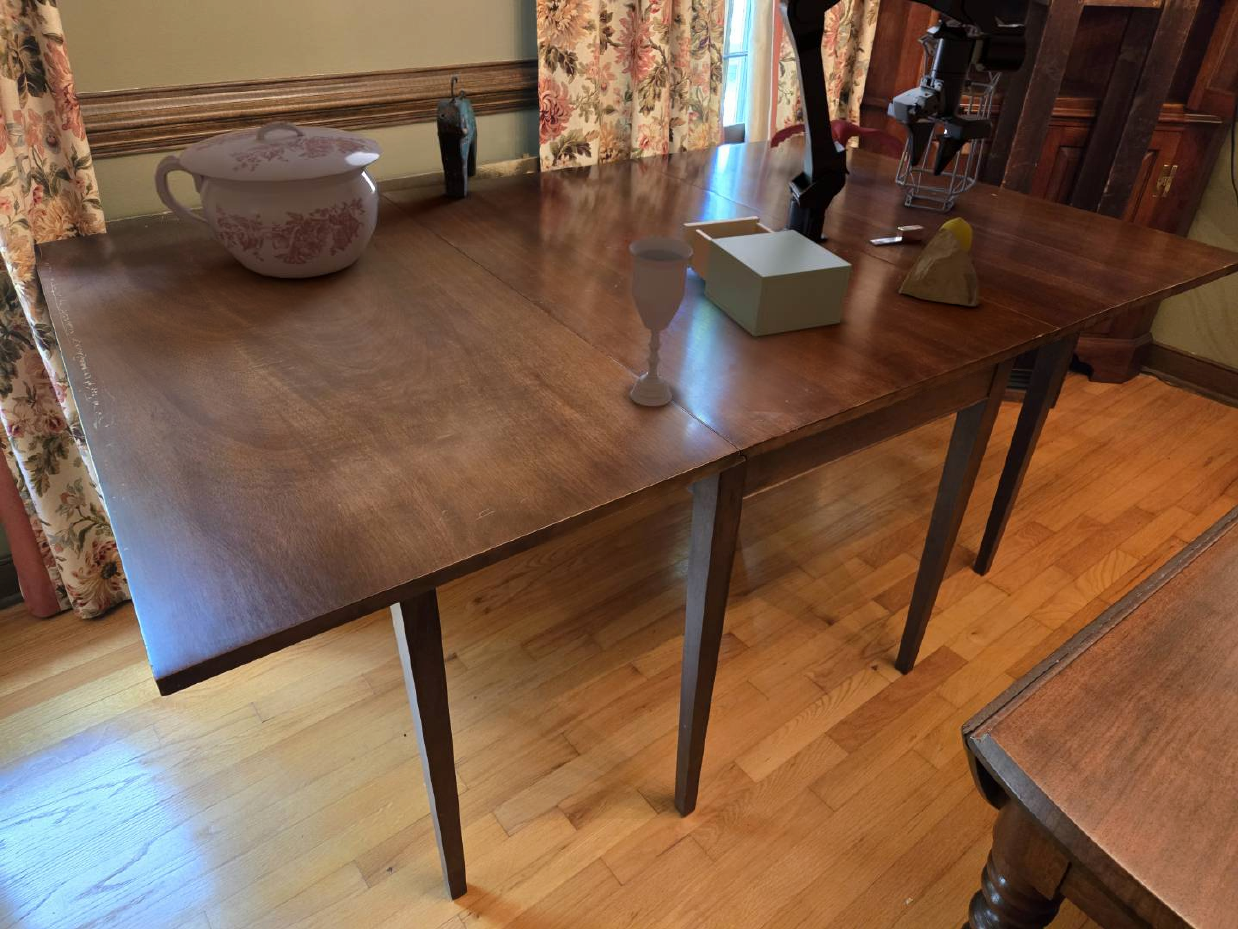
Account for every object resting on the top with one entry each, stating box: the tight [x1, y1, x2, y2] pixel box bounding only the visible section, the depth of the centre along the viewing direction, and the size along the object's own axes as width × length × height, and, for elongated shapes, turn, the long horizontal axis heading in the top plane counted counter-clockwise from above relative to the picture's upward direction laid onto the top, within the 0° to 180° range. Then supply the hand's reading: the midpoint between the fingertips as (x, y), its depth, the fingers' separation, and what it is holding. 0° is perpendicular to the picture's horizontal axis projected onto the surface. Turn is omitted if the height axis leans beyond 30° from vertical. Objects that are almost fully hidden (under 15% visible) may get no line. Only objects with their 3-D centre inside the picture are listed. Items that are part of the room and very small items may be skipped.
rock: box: [898, 227, 981, 307], centre depth 123 cm, size 11×9×10 cm
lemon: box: [938, 216, 973, 254], centre depth 135 cm, size 6×6×8 cm
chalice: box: [628, 236, 693, 407], centre depth 93 cm, size 7×7×18 cm
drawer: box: [681, 215, 775, 282], centre depth 127 cm, size 18×13×7 cm
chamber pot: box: [153, 120, 384, 279], centre depth 121 cm, size 28×28×21 cm
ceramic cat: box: [436, 76, 478, 198], centre depth 158 cm, size 20×6×20 cm, turn 179°
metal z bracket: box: [869, 224, 925, 247], centre depth 145 cm, size 10×2×2 cm, turn 113°
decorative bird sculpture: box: [770, 119, 904, 159], centre depth 182 cm, size 28×9×15 cm
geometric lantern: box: [894, 16, 1005, 213], centre depth 154 cm, size 16×16×35 cm
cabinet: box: [704, 230, 853, 338], centre depth 117 cm, size 15×14×9 cm
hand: (924, 170), depth 140 cm, fingers open, 5 cm apart
